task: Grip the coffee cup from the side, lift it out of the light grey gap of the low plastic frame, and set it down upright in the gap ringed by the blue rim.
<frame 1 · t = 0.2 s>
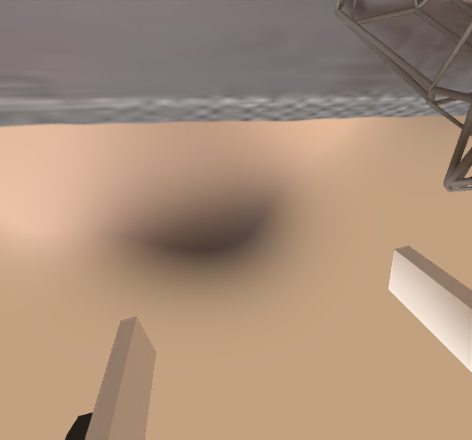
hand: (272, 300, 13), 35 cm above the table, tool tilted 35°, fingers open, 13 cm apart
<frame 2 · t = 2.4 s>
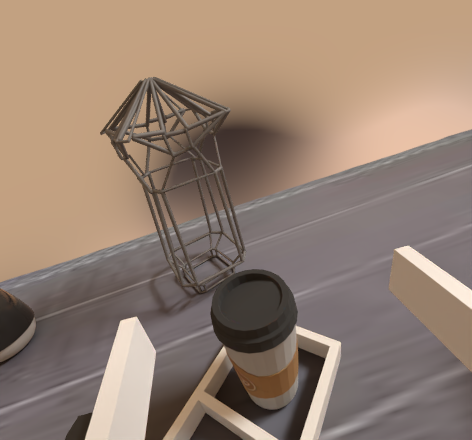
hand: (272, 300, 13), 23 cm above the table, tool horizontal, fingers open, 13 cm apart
pump dispenser: (14, 346, 45), on the table
coffee cup: (272, 382, 31), resting in gap frame
geometric lantern: (213, 275, 50), on the table
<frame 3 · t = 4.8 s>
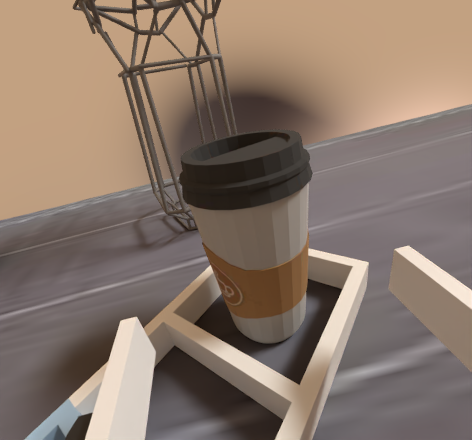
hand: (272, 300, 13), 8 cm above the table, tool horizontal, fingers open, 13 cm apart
gap frame: (190, 429, 16), on the table
coffee cup: (269, 315, 22), resting in gap frame
geometric lantern: (208, 215, 42), on the table
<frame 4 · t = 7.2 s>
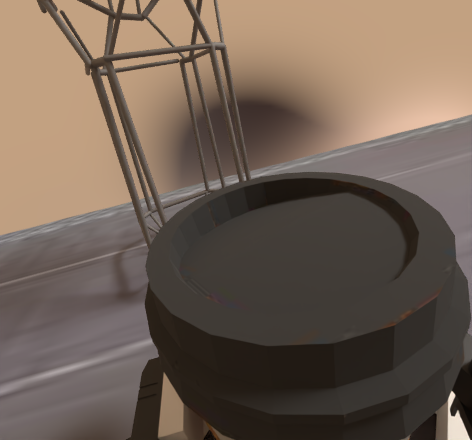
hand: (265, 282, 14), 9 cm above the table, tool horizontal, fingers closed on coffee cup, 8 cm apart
geometric lantern: (207, 249, 34), on the table
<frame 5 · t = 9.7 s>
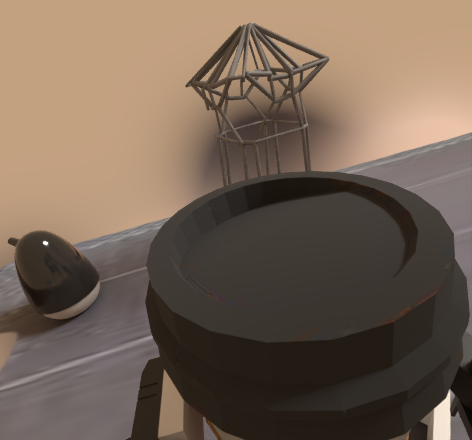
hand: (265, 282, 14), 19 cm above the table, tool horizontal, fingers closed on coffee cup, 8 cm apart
pump dispenser: (78, 305, 45), on the table
gap frame: (349, 428, 23), on the table
geometric lantern: (276, 245, 49), on the table
when the fingers open (10 cm above the table, at t = 12.4 s): coffee cup drops 1 cm, resting in gap frame.
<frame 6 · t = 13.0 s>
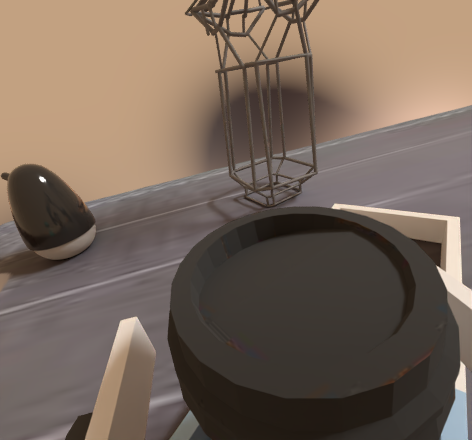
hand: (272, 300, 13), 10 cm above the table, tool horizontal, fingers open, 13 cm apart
pump dispenser: (74, 250, 44), on the table
gap frame: (353, 330, 21), on the table
geometric lantern: (277, 196, 48), on the table
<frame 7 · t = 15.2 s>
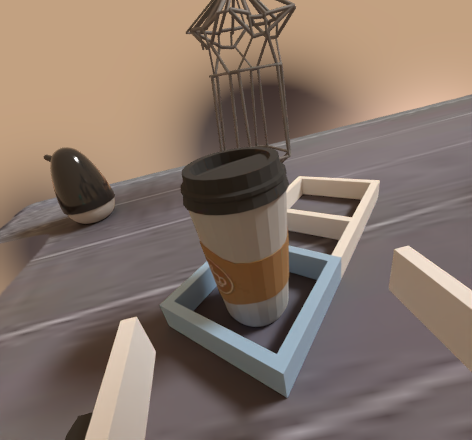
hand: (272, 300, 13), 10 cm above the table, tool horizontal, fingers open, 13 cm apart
pump dispenser: (97, 218, 55), on the table
gap frame: (296, 248, 33), on the table
coffee cup: (257, 303, 26), resting in gap frame
geometric lantern: (260, 176, 59), on the table
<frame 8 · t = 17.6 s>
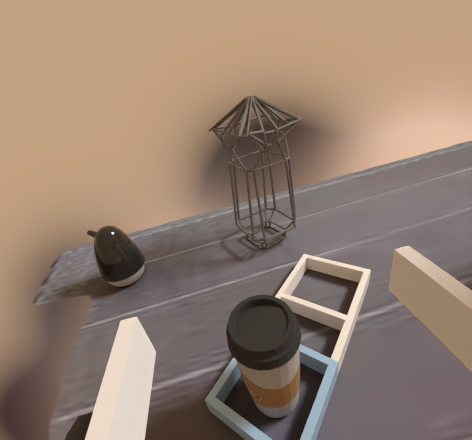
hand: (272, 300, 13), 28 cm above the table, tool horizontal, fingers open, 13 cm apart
pump dispenser: (129, 278, 64), on the table
gap frame: (303, 335, 41), on the table
coffee cup: (275, 393, 35), resting in gap frame
geometric lantern: (269, 238, 68), on the table
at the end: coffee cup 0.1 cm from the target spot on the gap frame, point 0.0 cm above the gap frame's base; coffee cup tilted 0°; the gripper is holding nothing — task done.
